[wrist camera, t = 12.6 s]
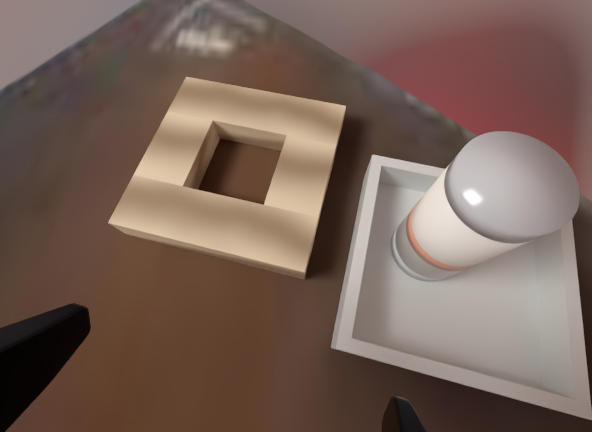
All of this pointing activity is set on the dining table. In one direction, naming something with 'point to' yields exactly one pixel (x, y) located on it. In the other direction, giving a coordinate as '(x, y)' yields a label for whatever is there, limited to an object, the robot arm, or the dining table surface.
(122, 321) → the dining table surface
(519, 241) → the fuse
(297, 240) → the socket block
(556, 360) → the tray
